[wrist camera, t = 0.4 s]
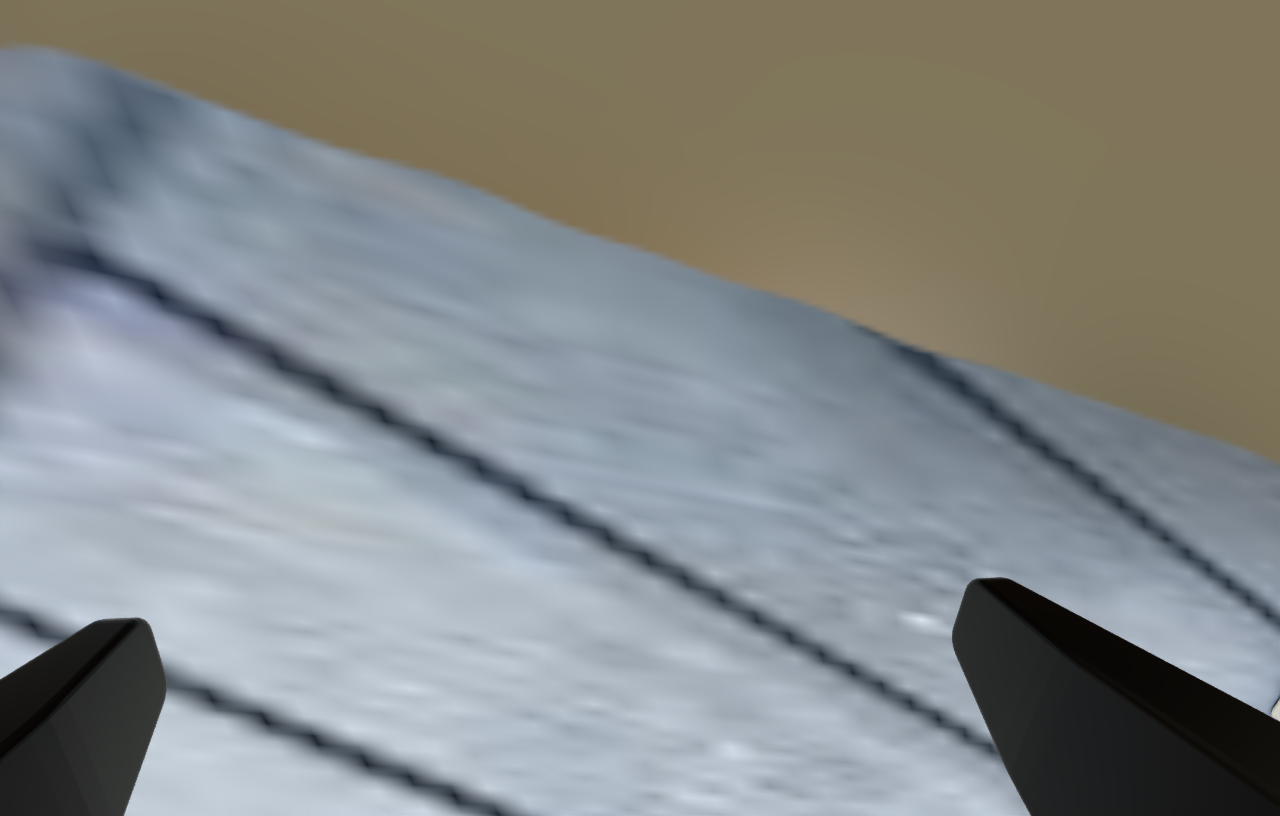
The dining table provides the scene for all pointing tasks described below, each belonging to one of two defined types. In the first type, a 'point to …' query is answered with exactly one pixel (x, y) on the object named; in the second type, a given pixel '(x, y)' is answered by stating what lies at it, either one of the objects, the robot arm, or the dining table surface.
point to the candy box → (1276, 711)
